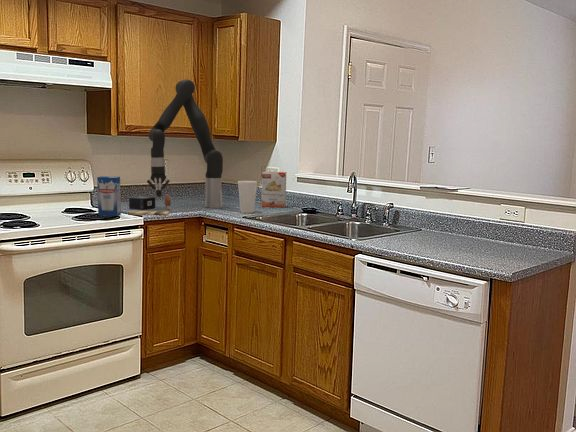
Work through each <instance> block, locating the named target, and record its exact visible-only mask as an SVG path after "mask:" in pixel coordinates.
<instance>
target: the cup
mask: <svg viewBox="0 0 576 432" xmlns="http://www.w3.org/2000/svg"><path fill="white" fill-rule="evenodd" d="M237 187H238V200H239V208H240V209H239V210H240V212H241V213H242V214H251V213H255V205H256V197H257V190H258V189H257V187H258V181H257V180H256V181H255V180H238V181H237ZM241 213H240V214H241Z"/></svg>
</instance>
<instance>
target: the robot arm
mask: <svg viewBox="0 0 576 432" xmlns="http://www.w3.org/2000/svg"><path fill="white" fill-rule="evenodd" d="M174 89H175V93H176V94H175V96H174V98H173V99H172V100H171V101H170V103H169V104H168V106H167V107H165V109H164V110H163V111H162V113H161V115H160V116H159V118H158V121H157V122H156V123H155V124H154V125H153V126H152V127H151V128H150V131H149V132H148V139H149V140H150V141H151V142H152V147H151V149H150V172H151V175H150V178H149V179H147V180H146V182H147V184H149V186H150V187H151V188H152V189H153V190H155V191H156V192H155V193H156V194H155V195H156V196H157V197H158V198H161V197H162V195H163V190H164V189H166V187H167V186H168V184H169V183H170V182H171V180H170V179H168V178H167V176H166V168H165V167H166V163H165V150H164V149H165V142H166V135H165V131H166V130H168V129H169V128H170V127H171V125H172V124H173V122H174V120H175V118H176V117H177V116H178V113H179V112H180V111H181V109H182V107H183V108H184V111H185V113H186V116H187V119H188V121H189V124H190V126H191V129H192V131H193V134H194V136H195V138H196V140H197V142H198V144H199V145H200V149H201V153H202V156H203V159H204V161H205V163H206V171H205V208H209V209H216V208H217V209H219V208H223V191H222V175H223V166H224V164H223V163H224V157H223V155H222V152H221V151H219V150H217V149H216V148H215V146H214V143H213V140H212V139H211V132H210V131H211V130H210V126H209V124H208V121H207V119H206V116H205V114H204V113H203V111H202V110H201V109H200V107H199V106H198V105H197V103H196V101H195V99H194V96H193V94H194V92H195V89H196V85H195V83H194V82H193V81H192V80H191V79H187V78H186V79H182V80H180V81H178V82H177V83H176V84H175V88H174ZM164 182H165V183H164Z"/></svg>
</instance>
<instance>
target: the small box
mask: <svg viewBox="0 0 576 432" xmlns="http://www.w3.org/2000/svg"><path fill="white" fill-rule="evenodd" d="M128 208H129V209H131V210H141V209H142V210H141V211H145V210H149V209H150V208H151V209H155V208H156V197H155V196H143V195H142V196H134V197H129V198H128ZM144 209H145V210H144Z"/></svg>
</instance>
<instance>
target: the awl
mask: <svg viewBox="0 0 576 432" xmlns="http://www.w3.org/2000/svg"><path fill="white" fill-rule="evenodd" d="M164 206H165V210H164V211H170V212H171V195H167V194H166V195H164Z"/></svg>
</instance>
